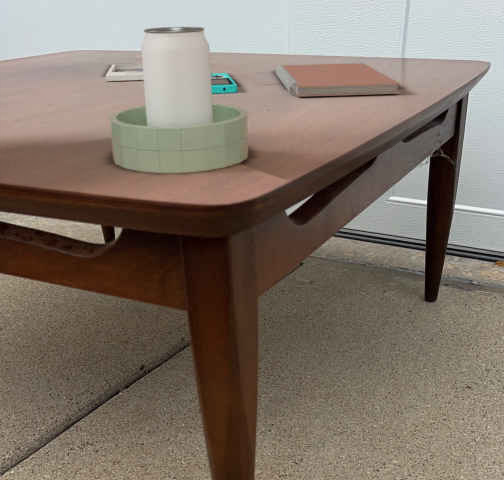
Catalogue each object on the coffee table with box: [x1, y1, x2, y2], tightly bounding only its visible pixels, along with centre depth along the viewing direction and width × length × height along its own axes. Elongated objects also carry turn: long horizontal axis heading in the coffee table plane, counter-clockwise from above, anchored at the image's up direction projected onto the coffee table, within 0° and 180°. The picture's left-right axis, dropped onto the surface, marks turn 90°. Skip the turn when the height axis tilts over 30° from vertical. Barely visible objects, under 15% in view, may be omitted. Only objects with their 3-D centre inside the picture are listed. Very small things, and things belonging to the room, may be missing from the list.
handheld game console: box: [211, 72, 238, 95], centre depth 118 cm, size 10×16×1 cm, turn 8°
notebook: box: [275, 62, 401, 98], centre depth 118 cm, size 27×17×2 cm, turn 4°
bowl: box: [108, 102, 249, 174], centre depth 69 cm, size 13×13×5 cm
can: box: [140, 26, 213, 127], centre depth 67 cm, size 6×6×12 cm
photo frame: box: [105, 63, 143, 82], centre depth 134 cm, size 15×1×18 cm
